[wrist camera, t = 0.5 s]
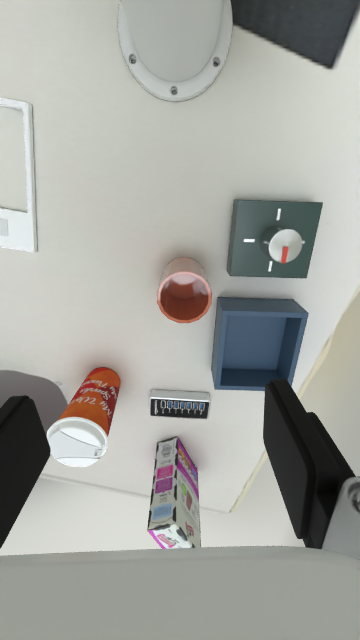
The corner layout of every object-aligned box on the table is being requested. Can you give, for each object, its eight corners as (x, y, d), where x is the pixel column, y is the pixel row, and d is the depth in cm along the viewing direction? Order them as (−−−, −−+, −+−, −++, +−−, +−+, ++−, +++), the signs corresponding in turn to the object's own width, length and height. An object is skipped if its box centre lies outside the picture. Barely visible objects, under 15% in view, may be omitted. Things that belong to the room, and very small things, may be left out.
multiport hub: (207, 411, 53) (208, 420, 51) (150, 407, 53) (148, 416, 50) (209, 392, 51) (210, 401, 49) (150, 389, 51) (149, 397, 49)
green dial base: (233, 199, 38) (238, 199, 35) (313, 202, 38) (323, 202, 35) (226, 271, 42) (230, 276, 39) (298, 273, 42) (307, 278, 39)
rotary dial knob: (261, 225, 36) (272, 228, 32) (291, 226, 36) (306, 229, 32) (257, 255, 38) (267, 263, 34) (286, 256, 38) (299, 263, 34)
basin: (217, 297, 44) (222, 310, 38) (293, 299, 44) (308, 312, 38) (211, 369, 49) (214, 389, 44) (278, 371, 49) (290, 391, 44)
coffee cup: (130, 367, 49) (110, 432, 35) (122, 403, 52) (100, 475, 38) (83, 356, 48) (44, 418, 34) (78, 393, 51) (40, 463, 38)
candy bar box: (155, 442, 56) (145, 530, 41) (177, 435, 55) (175, 522, 40) (177, 477, 60) (175, 569, 45) (198, 470, 59) (203, 562, 44)
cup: (162, 256, 41) (157, 270, 33) (207, 258, 41) (213, 272, 33) (162, 299, 44) (157, 322, 36) (204, 300, 44) (209, 323, 36)
